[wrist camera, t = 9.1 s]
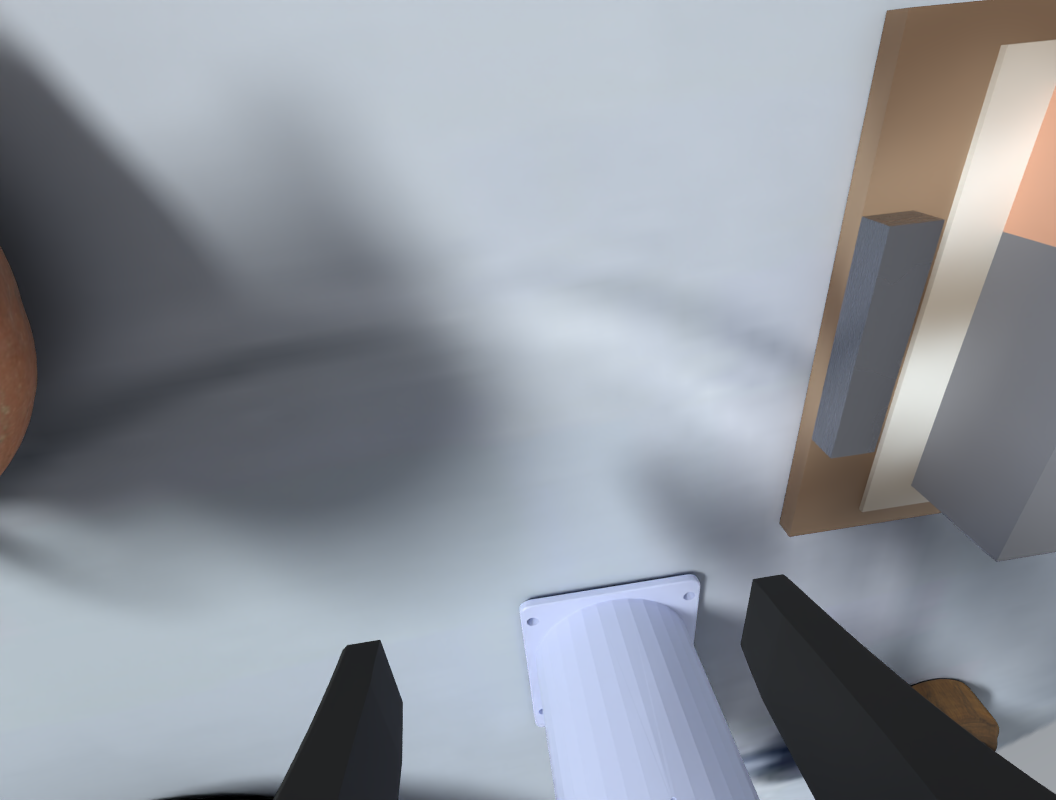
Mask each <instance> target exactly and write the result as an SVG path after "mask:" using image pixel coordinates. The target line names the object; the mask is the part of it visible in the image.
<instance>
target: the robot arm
mask: <svg viewBox="0 0 1056 800" xmlns="http://www.w3.org/2000/svg"><path fill="white" fill-rule="evenodd" d="M699 595H700V582H699V580H698V578H697V577H696V576H695V575H692V574H687V575H681V576H674V577H668V578H662V579H656V580H650V581H643V582H637V583H631V584H625V585H618V586H612V587H606V588H600V589H594V590H587V591H581V592H575V593H569V594H563V595H556V596H550V597H544V598H538V599H531V600H527V601H525V602H523V603H522V604H521V605H520V608H519V611H520V618H521V625H522V632H523V639H524V646H525V653H526V660H527V667H528V674H529V682H530V689H531V696H532V703H533V710H534V717H535V723H536V725H538V726H539V727H545V729H546V736H547V743H548V749H549V756H550V763H551V770H552V776H553V783H554V790H555V797H556V800H759V797H758V795H757V792H756V790H755V788H754V785H753V783H752V781H751V778H750V776H749V774H748V771H747V769H746V767H745V764H744V762H743V760H742V757H741V755H740V753H739V750H738V748H737V746H736V743H735V741H734V739H733V736H732V734H731V732H730V729H729V727H728V725H727V722H726V720H725V718H724V715H723V713H722V711H721V708H720V706H719V704H718V701H717V699H716V697H715V694H714V692H713V690H712V687H711V685H710V683H709V680H708V678H707V676H706V673H705V671H704V669H703V666H702V664H701V662H700V659H699V657H698V655H697V652H696V650H695V647H694V637H695V629H696V620H697V612H698V603H699ZM741 647H742V650H743V652H744V655H745V657H746V660H747V663H748V665H749V668H750V670H751V673H752V675H753V678H754V680H755V683H756V685H757V687H758V690H759V692H760V695H761V697H762V699H763V701H764V703H765V705H766V707H767V709H768V711H769V713H770V715H771V717H772V719H773V721H774V723H775V725H776V726H777V728H778V730H779V732H780V734H781V736H782V738H783V740H784V742H785V744H786V745H787V747H788V749H789V751H790V753H791V755H792V757H793V759H794V761H795V762H796V764H797V766H798V768H799V770H800V772H801V774H802V776H803V777H804V779H805V781H806V783H807V785H808V787H809V789H810V791H811V792H812V794H813V796H814V798H815V800H1056V794H1054V793H1053V792H1051V791H1050V790H1048V789H1047V788H1046V787H1044V786H1043V785H1041V784H1040V783H1038V782H1037V781H1035V780H1034V779H1032V778H1031V777H1030V776H1028V775H1027V774H1025V773H1024V772H1023V771H1021V770H1020V769H1018V768H1017V767H1016V766H1014V765H1013V764H1011V763H1010V762H1009V761H1007V760H1006V759H1004V758H1003V757H1002V756H1000V755H999V754H997V753H996V752H995V751H993V750H992V749H991V748H989V747H988V746H987V745H985V744H984V743H983V742H981V741H980V740H979V739H977V738H976V737H975V736H973V735H972V734H971V733H969V732H968V731H967V730H965V729H964V728H963V727H962V726H960V725H959V724H958V723H956V722H955V721H954V720H953V719H951V718H950V717H949V716H947V715H946V714H945V713H944V712H942V711H941V710H940V709H939V708H937V707H936V706H935V705H934V704H932V703H931V702H930V701H928V700H927V699H926V698H925V697H924V696H922V695H921V694H920V693H919V692H917V691H916V690H915V689H914V688H912V687H911V686H910V685H909V684H908V683H906V682H905V681H904V680H903V679H902V678H900V677H899V676H898V675H897V674H896V673H895V672H893V671H892V670H891V669H890V668H889V667H887V666H886V665H885V664H884V663H883V662H882V661H880V660H879V659H878V658H877V657H876V656H874V655H873V654H872V653H871V652H870V651H869V650H867V649H866V648H865V647H864V646H863V645H862V644H861V643H859V642H858V641H857V640H856V639H855V638H854V637H853V636H851V635H850V634H849V633H848V632H847V631H846V630H845V629H844V628H842V627H841V626H840V625H839V624H838V623H837V622H836V621H835V620H834V619H832V618H831V617H830V616H829V615H828V614H827V613H826V612H825V611H824V610H822V609H821V608H820V607H819V606H818V605H817V604H816V603H815V602H814V601H813V600H811V599H810V598H809V597H808V596H807V595H806V594H805V593H804V592H803V591H802V590H801V589H799V588H798V587H797V586H796V585H795V584H794V583H793V582H792V581H791V580H789V579H788V578H787V577H786V576H785V575H783V574H782V575H776V576H770V577H764V578H757V579H753V582H752V587H751V592H750V598H749V603H748V608H747V613H746V619H745V624H744V629H743V635H742V640H741ZM402 731H403V702H402V699H401V696H400V693H399V691H398V688H397V685H396V682H395V679H394V677H393V674H392V671H391V668H390V666H389V663H388V660H387V657H386V654H385V652H384V649H383V646H382V643H381V641H380V640H377V641H370V642H364V643H358V644H352V645H347V646H346V647H345V648H344V649H343V651H342V653H341V656H340V658H339V661H338V663H337V666H336V668H335V671H334V673H333V675H332V678H331V680H330V682H329V685H328V687H327V689H326V692H325V694H324V696H323V698H322V701H321V703H320V705H319V707H318V710H317V712H316V714H315V716H314V718H313V720H312V723H311V725H310V727H309V729H308V731H307V733H306V735H305V737H304V739H303V741H302V743H301V745H300V748H299V750H298V752H297V754H296V756H295V758H294V760H293V762H292V764H291V766H290V768H289V770H288V772H287V774H286V776H285V778H284V780H283V782H282V784H281V786H280V788H279V790H278V792H277V794H276V795H275V797H274V799H273V800H398V795H399V786H400V776H401V767H402Z"/></svg>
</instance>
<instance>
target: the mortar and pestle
mask: <svg viewBox="0 0 1056 800" xmlns="http://www.w3.org/2000/svg"><path fill="white" fill-rule="evenodd" d="M911 687H912V688H914V689H915V690H916V691H917V692H919V693H920V694H921V695H922V696H924V697H925V698H926V699H927V700H928V701H930V702H931V703H932V704H934V705H935V706H936V707H937V708H939V709H940V710H941V711H942V712H944V713H945V714H946V715H947V716H949V717H950V718H951V719H953V720H954V721H955V722H956V723H958V724H959V725H960V726H962V727H963V728H964V729H965V730H967V731H968V732H969V733H971V734H972V735H973V736H975V737H976V738H977V739H979V740H980V741H981V742H983V743H984V744H985V745H987V746H988V747H989V748H991V749H992V750H993V751H996V748H997V737H998V734H999V726H998V724H997V722H996V721H995V719H994V718H993V717H992V715H991V714H990V713H989V712H988V710H987V709H986V708H985V707H984V706H983V704H982V703H981V702H980V701H979V699H978V698H977V697H976V696H975V694H974V693H973V692H972V691H971V689H970V688H969V687H968V686H967V685H965V684H964V683H962V682H960V681H956V680H951V679H936V680H930V681H926V682H922V683H919V684H916V685H913V686H911Z"/></svg>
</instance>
